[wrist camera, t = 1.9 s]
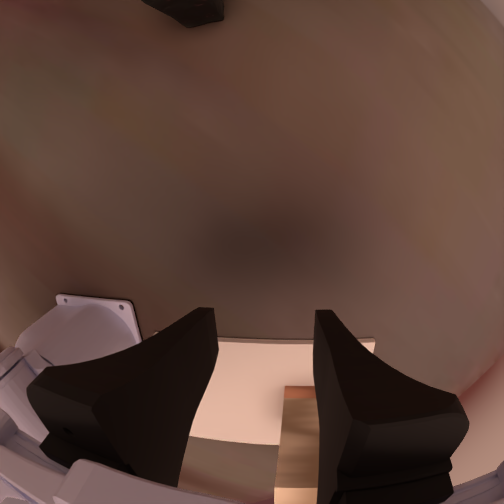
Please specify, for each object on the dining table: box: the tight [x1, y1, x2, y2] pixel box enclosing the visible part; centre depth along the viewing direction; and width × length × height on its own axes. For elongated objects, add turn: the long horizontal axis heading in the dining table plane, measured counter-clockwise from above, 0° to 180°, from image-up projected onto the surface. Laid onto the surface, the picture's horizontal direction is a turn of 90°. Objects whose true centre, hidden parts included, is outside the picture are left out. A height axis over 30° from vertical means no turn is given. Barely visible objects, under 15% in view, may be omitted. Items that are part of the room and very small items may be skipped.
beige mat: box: [153, 332, 375, 445], centre depth 24 cm, size 18×14×1 cm
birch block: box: [274, 386, 319, 504], centre depth 19 cm, size 5×5×10 cm
